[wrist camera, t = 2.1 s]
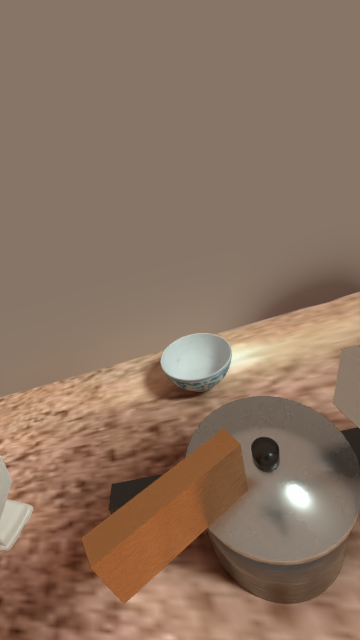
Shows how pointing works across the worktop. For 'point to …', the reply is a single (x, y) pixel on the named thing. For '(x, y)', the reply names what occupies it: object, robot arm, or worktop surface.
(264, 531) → the lid
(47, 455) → the worktop surface
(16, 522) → the soap
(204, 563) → the worktop surface
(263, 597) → the pot
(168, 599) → the worktop surface
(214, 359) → the chinaware
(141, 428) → the worktop surface
